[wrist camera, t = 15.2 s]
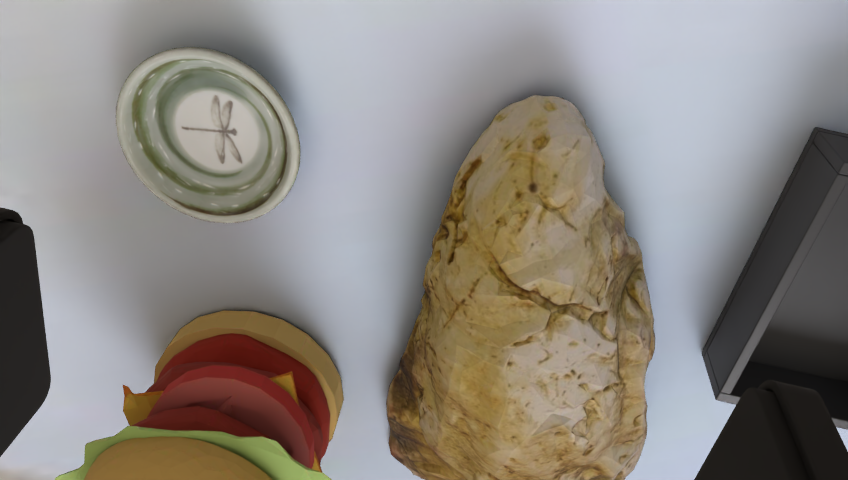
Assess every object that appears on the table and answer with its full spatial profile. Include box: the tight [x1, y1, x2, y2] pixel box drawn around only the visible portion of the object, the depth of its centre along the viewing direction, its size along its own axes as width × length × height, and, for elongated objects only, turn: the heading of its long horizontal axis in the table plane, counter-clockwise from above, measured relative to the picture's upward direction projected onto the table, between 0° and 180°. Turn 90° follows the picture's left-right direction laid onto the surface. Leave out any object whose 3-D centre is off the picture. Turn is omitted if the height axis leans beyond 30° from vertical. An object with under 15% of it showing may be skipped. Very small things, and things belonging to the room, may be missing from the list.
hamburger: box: [55, 310, 344, 480], centre depth 43 cm, size 16×14×15 cm
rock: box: [386, 95, 655, 480], centre depth 41 cm, size 16×10×30 cm
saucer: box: [116, 47, 300, 223], centre depth 39 cm, size 10×10×2 cm
